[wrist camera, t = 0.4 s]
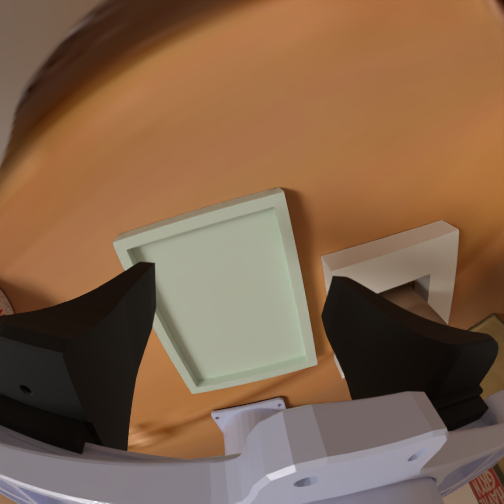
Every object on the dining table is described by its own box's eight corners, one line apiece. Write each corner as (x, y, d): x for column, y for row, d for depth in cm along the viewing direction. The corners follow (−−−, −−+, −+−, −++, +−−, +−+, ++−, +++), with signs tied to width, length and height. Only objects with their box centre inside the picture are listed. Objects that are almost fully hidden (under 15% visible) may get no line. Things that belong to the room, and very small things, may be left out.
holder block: (433, 322, 27) (445, 335, 25) (334, 361, 28) (342, 378, 25) (441, 219, 22) (459, 229, 20) (321, 256, 23) (331, 271, 20)
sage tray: (313, 353, 27) (317, 364, 25) (192, 382, 27) (192, 393, 25) (279, 187, 20) (284, 192, 19) (118, 234, 20) (112, 242, 19)
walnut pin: (406, 305, 26) (456, 366, 18) (370, 319, 26) (415, 387, 18) (407, 270, 24) (467, 329, 16) (369, 284, 24) (423, 351, 16)
